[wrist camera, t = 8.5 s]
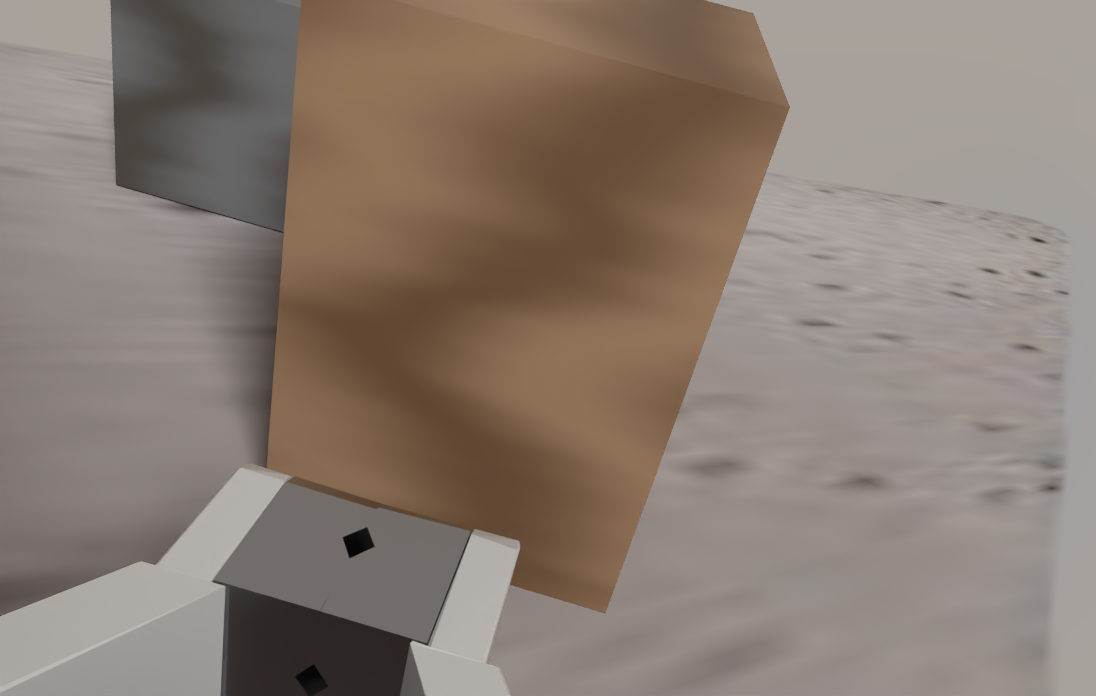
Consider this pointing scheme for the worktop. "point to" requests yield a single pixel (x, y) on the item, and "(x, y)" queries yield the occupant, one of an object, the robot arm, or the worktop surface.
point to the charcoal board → (206, 102)
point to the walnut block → (511, 257)
